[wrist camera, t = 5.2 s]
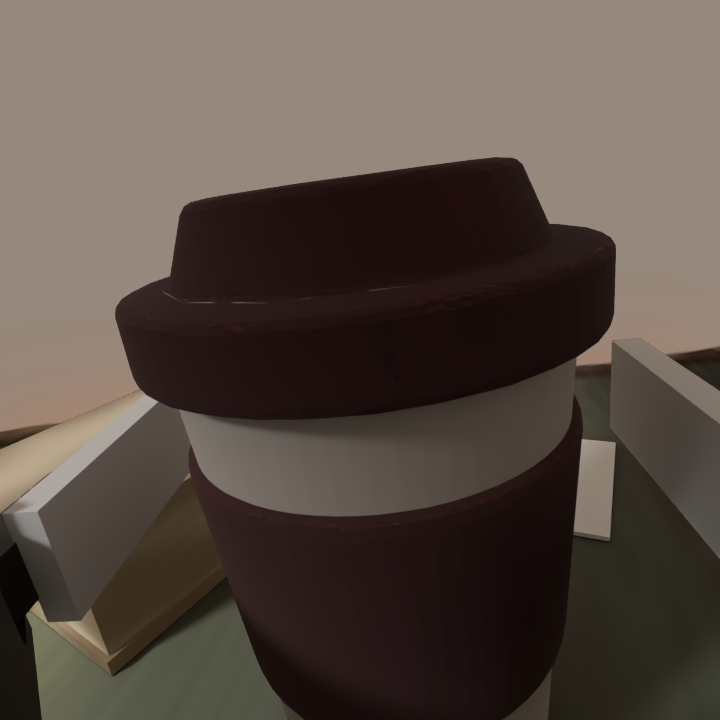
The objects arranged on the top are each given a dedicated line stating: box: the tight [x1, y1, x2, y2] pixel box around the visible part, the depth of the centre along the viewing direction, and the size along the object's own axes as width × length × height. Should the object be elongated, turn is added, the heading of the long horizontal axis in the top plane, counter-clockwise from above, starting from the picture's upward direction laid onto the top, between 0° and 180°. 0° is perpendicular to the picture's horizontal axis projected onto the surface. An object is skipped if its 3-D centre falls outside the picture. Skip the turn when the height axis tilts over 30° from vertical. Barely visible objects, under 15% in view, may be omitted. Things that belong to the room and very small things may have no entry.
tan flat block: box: [0, 389, 227, 676], centre depth 25 cm, size 12×12×5 cm
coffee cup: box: [115, 157, 616, 720], centre depth 13 cm, size 10×10×15 cm
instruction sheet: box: [573, 439, 616, 542], centre depth 26 cm, size 10×8×1 cm
